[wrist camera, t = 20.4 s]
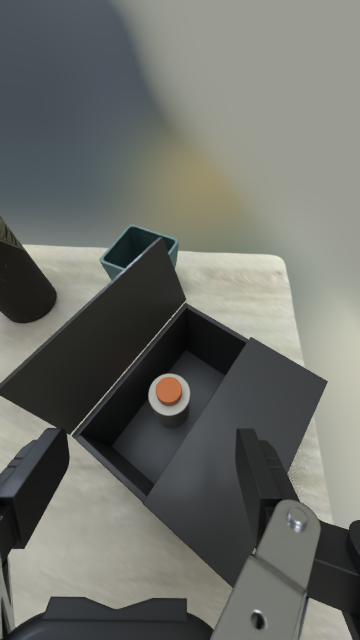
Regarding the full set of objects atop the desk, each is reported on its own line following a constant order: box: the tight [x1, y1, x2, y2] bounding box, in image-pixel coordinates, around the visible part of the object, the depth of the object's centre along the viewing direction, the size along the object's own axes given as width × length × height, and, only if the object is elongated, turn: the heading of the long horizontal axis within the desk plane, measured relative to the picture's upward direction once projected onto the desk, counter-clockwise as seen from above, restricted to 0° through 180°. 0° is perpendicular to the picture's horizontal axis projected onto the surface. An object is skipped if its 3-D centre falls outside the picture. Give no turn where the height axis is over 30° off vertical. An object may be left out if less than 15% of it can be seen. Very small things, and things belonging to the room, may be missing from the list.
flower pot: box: [100, 225, 179, 280], centre depth 41 cm, size 9×9×9 cm
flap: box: [0, 237, 186, 435], centre depth 22 cm, size 17×8×1 cm
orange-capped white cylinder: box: [148, 374, 190, 428], centre depth 30 cm, size 4×4×10 cm
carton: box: [72, 303, 328, 588], centre depth 28 cm, size 17×16×13 cm
